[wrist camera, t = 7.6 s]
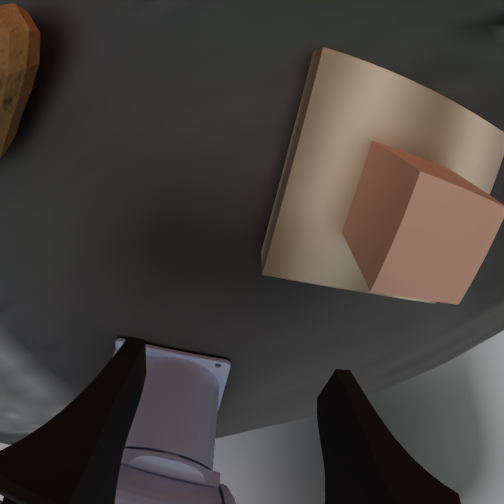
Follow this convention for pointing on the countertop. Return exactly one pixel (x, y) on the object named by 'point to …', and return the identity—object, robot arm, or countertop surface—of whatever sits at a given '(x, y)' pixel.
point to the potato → (16, 68)
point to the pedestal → (360, 160)
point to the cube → (418, 227)
